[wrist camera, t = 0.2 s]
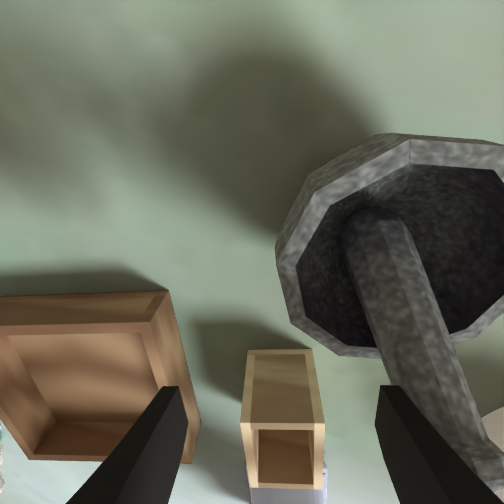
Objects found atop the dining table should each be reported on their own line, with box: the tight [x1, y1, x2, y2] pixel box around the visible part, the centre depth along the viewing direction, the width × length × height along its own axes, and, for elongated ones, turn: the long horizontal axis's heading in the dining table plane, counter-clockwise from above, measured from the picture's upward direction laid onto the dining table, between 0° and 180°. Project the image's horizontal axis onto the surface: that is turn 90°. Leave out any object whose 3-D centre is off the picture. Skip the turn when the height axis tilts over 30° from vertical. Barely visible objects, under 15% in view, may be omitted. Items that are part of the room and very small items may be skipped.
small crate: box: [240, 349, 325, 490], centre depth 21 cm, size 7×5×6 cm
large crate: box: [0, 291, 201, 464], centre depth 22 cm, size 15×15×4 cm
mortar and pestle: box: [275, 133, 504, 492], centre depth 12 cm, size 11×9×12 cm
